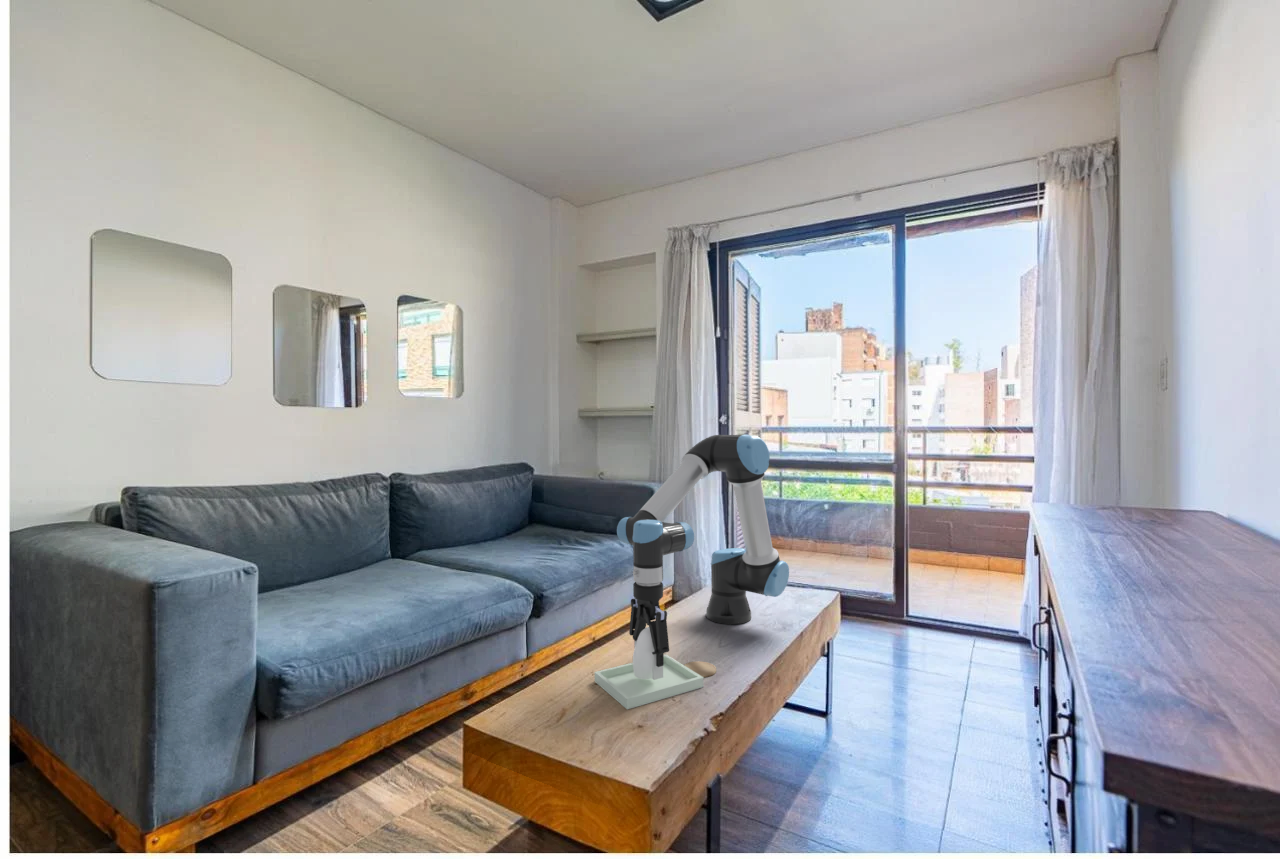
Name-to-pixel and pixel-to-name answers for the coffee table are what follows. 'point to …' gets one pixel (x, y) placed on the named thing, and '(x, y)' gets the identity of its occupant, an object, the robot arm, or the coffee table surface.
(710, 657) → the coffee table surface
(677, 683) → the tray
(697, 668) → the metal coaster
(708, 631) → the coffee table surface
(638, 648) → the figurine
